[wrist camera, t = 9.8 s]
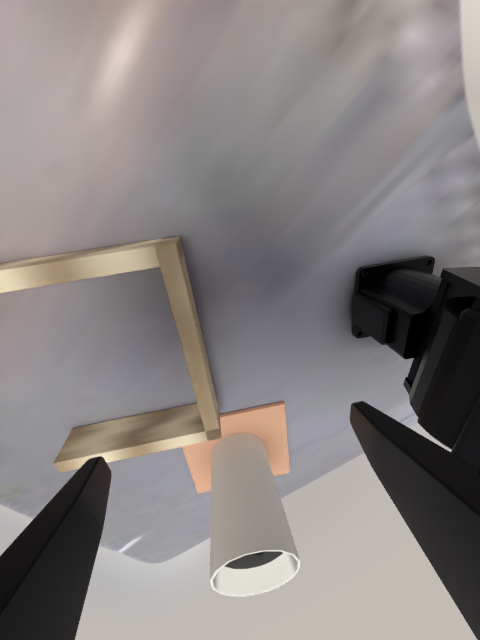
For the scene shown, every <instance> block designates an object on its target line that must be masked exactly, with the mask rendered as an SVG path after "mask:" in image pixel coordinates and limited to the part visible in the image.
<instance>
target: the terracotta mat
mask: <svg viewBox="0 0 480 640" xmlns="http://www.w3.org/2000/svg"><path fill="white" fill-rule="evenodd" d="M220 424H221V436H222V438H224V437H226V436H229V435H231V434H237V433H248V434H253V435H255V436H256V437H258V438H260V440H261V441H262V443H263V444H264V447H265V450H266V454H267V457H268V460H269V463H270V466H271V470H272V473H273V476H277V475H281V474H286V473H290V471H289V457H288V443H287V429H286V415H285V403H284V401H282V402H277V403H272V404H268V405H263V406H258V407H253V408H248V409H243V410H238V411H234V412H229V413H224V414H220ZM222 438H220V439H216V440H211V441H206V442H202V443H197V444H192V445H187V446H183V447H182V448H183V451H184V454H185V457H186V460H187V463H188V466H189V469H190V472H191V474H192V477H193V480H194V483H195V486H196V489H197V492H198V493H202V492H206V491H211V452H212V450H213V448H214V445H215V444H216V443H217V442H219V441H220V440H221V439H222Z"/></svg>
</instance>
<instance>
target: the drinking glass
mask: <svg viewBox="0 0 480 640" xmlns="http://www.w3.org/2000/svg"><path fill="white" fill-rule="evenodd" d="M210 549H211V552H210V582H211V586H212V589H214V590H215V591H217V592H218V593H220V594H222V595H228V596H233V597H236V596H251V595H256V594H260V593H265V592H267V591H270V590H272V589H274V588H277V587H280V586H282V585H283V584H284V583H286V582H287V581H289V580H290V579H292V578H293V577H294V575H295V574H296V573H297V572H298V570H299V566H300V559H299V556H298V553H297V550H296V547H295V544H294V541H293V537H292V534H291V531H290V527H289V524H288V521H287V518H286V515H285V511H284V508H283V505H282V502H281V498H280V495H279V492H278V489H277V486H276V482H275V479H274V476H273V473H272V470H271V466H270V463H269V460H268V457H267V454H266V450H265V447H264V444H263V443H262V441H261V440H260V438H258V437H256V436H255V435H253V434H248V433H237V434H231V435H229V436H226V437H224V438H222V439H221V440H220V441H219V442H217V443H216V444H215V445H214V448H213V450H212V452H211V548H210Z"/></svg>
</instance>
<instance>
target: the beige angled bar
mask: <svg viewBox="0 0 480 640" xmlns="http://www.w3.org/2000/svg"><path fill="white" fill-rule="evenodd" d="M156 267H160V269H161V272H162V276H163V279H164V283H165V287H166V290H167V294H168V298H169V301H170V305H171V309H172V312H173V316H174V320H175V323H176V327H177V330H178V334H179V338H180V341H181V345H182V349H183V352H184V356H185V360H186V363H187V367H188V371H189V374H190V378H191V381H192V385H193V389H194V392H195V396H196V400H197V403H195V404H190V405H185V406H180V407H175V408H171V409H166V410H161V411H156V412H151V413H146V414H141V415H136V416H131V417H126V418H121V419H116V420H111V421H106V422H101V423H96V424H91V425H86V426H81V427H76V428H73V429H72V431H71V433H70V435H69V436H68V438H67V440H66V442H65V443H64V445H63V447H62V449H61V450H60V452H59V454H58V456H57V458H56V459H55V461H54V463H53V464H54V465H55V466H56V468H57V469H58V471H59V472H65V471H70V470H74V469H79V468H81V466H82V465H83V464H84V463H85V462H86V461H87V460H88V459H90V458H93V457H98V456H102V457H103V458H104V459H105V461H106V463H107V462H112V461H117V460H122V459H126V458H131V457H136V456H140V455H145V454H150V453H154V452H159V451H164V450H169V449H173V448H178V447H183V446H187V445H192V444H197V443H202V442H206V441H211V440H216V439H220V438H222V436H221V424H220V413H219V406H218V401H217V397H216V392H215V388H214V384H213V379H212V375H211V370H210V366H209V362H208V357H207V353H206V348H205V344H204V340H203V335H202V331H201V326H200V322H199V317H198V313H197V309H196V304H195V300H194V295H193V291H192V287H191V282H190V278H189V273H188V269H187V265H186V260H185V256H184V251H183V247H182V243H181V238H180V236H175V237H168V238H162V239H155V240H149V241H142V242H136V243H130V244H123V245H117V246H110V247H104V248H97V249H91V250H84V251H78V252H72V253H65V254H59V255H52V256H46V257H39V258H33V259H26V260H20V261H14V262H7V263H1V264H0V293H3V292H9V291H15V290H21V289H27V288H33V287H40V286H46V285H52V284H58V283H64V282H70V281H76V280H83V279H89V278H95V277H101V276H107V275H113V274H119V273H126V272H132V271H138V270H144V269H150V268H156Z"/></svg>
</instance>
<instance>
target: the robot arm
mask: <svg viewBox="0 0 480 640" xmlns="http://www.w3.org/2000/svg"><path fill="white" fill-rule="evenodd" d="M427 261H428V262H427ZM426 262H427V264H426ZM434 263H435V259H434V258H433V257H431V256H422V257H416V258H410V259H405V260H399V261H393V262H387V263H381V264H376V265H370V266H364V267H361V268H359V269H358V271H357V273H356V286H355V294H354V297H353V311H352V322H353V327H352V334H353V336H355V337H356V338H363V337H368V336H371V337H373V338H374V339H375V340H376V341H378V342H379V343H380V344H382V345H385V344H386V345H387V346H389V347H390V348H391V349H393V350H394V351H395V352H396V353H398V354H399V355H400V356H402V357H403V358H404V359H410V358H414V360H413V363H412V366H411V368H410V371H409V374H408V377H406V378H405V381H404V384H403V385H404V387H405V388H406V390H407V392H408V394H409V398H410V405H411V406H412V408H413V410H414V411H415V413H416V415H417V416H418V417H419V418H418V423H419V424H420V425H421V426H422V427H423V428H424V429H425V430H426V431H427V432H428V433H429V434H430V435H431V436H432V437H434V438H435V439H436V440H438V441H439V442H440V443H442V444H443V445H445V446H447V447H448V448H450V449H452V451H451V452H449V451H447V450H445V449H444V448H442V447H440V446H439V445H437V444H435V443H434V442H432V441H430V440H428V439H427V438H425V437H423V436H422V435H420V434H418V433H416V432H415V431H413V430H411V429H410V428H408V427H406V426H405V425H403V424H401V423H399V422H398V421H396V420H394V419H393V418H391V417H389V416H388V415H386V414H384V413H382V412H381V411H379V410H377V409H376V408H374V407H372V406H370V405H369V404H367V403H365V402H363V401H360V402H355V403H352V405H351V411H350V423H351V425H352V428H353V430H354V432H355V434H356V436H357V438H358V440H359V442H360V444H361V446H362V448H363V450H364V452H365V454H366V456H367V458H368V460H369V462H370V464H371V466H372V468H373V469H374V471H375V473H376V475H377V476H378V478H379V480H380V481H381V483H382V485H383V486H384V488H385V489H386V491H387V493H388V494H389V496H390V498H391V499H392V501H393V502H394V504H395V506H396V507H397V509H398V511H399V512H400V514H401V516H402V517H403V519H404V520H405V522H406V523H407V525H408V527H409V529H410V530H411V532H412V533H413V535H414V537H415V538H416V540H417V542H418V543H419V545H420V546H421V548H422V550H423V552H424V553H425V555H426V556H427V558H428V559H429V561H430V563H431V564H432V566H433V568H434V569H435V571H436V573H437V574H438V576H439V577H440V579H441V581H442V583H443V584H444V586H445V587H446V589H447V591H448V592H449V594H450V595H451V597H452V599H453V600H454V602H455V604H456V605H457V607H458V608H459V610H460V612H461V614H462V615H463V617H464V618H465V620H466V622H467V623H468V625H469V626H470V628H471V630H472V631H473V633H474V635H475V636H476V638H477V639H478V640H480V267H465V268H443V270H442V273H441V276H440V277H438V276H435V275H432V272H433V267H434ZM364 271H365V274H364V275H363V276H362V273H363V272H364ZM359 331H360V332H359ZM358 332H359V333H358ZM357 333H358V334H357ZM110 483H111V470H110V468H109V467H108V465H107V463H106V461H105V459H104V458H103V457H102V456H98V457H93V458H90V459H88V460H87V461H86V462H85V463H84V464H83V465H82V466H81V468H80V469H79V470H78V471H77V472H76V473H75V474H74V475H73V476H72V478H71V479H70V480H69V481H68V482H67V483H66V484H65V485H64V486H63V487H62V489H61V490H60V491H59V492H58V493H57V494H56V495H55V496H54V497H53V498H52V500H51V501H50V502H49V503H48V504H47V505H46V506H45V507H44V508H43V510H42V511H41V512H40V513H39V514H38V515H37V516H36V517H35V518H34V519H33V521H32V522H31V523H30V524H29V525H28V526H27V527H26V528H25V529H24V531H23V532H22V533H21V534H20V535H19V536H18V537H17V538H16V539H15V540H14V542H13V543H12V544H11V545H10V546H9V547H8V548H7V549H6V550H5V552H4V553H3V554H2V555H1V556H0V640H75V636H76V632H77V629H78V624H79V621H80V617H81V613H82V609H83V605H84V601H85V597H86V594H87V590H88V586H89V582H90V578H91V574H92V570H93V566H94V562H95V558H96V554H97V551H98V547H99V543H100V539H101V535H102V530H103V526H104V520H105V514H106V508H107V501H108V495H109V489H110Z"/></svg>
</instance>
